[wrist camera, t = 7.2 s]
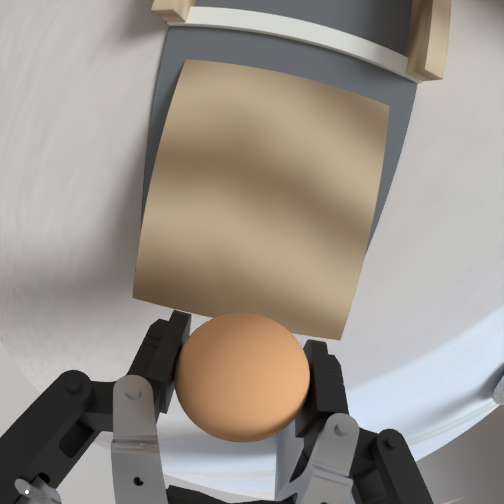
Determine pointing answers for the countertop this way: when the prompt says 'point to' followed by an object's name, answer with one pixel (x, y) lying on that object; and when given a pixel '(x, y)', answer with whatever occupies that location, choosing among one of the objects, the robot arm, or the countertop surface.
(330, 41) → the mat
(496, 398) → the flower in vase
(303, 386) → the ball
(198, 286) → the ramp
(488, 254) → the countertop surface
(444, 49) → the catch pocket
